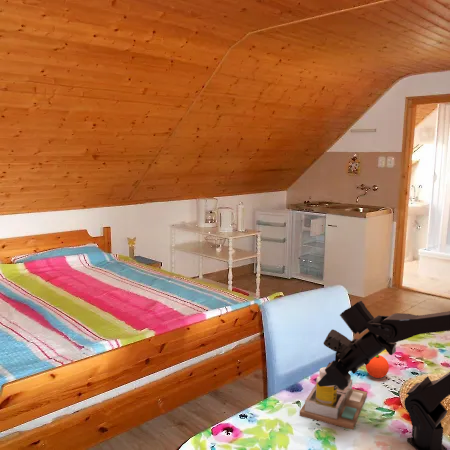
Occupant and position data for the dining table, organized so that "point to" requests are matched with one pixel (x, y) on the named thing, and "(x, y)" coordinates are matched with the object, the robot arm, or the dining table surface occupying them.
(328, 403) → the supplement bottle
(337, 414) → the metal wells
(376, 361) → the clementine
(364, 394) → the socket board
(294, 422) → the dining table surface
